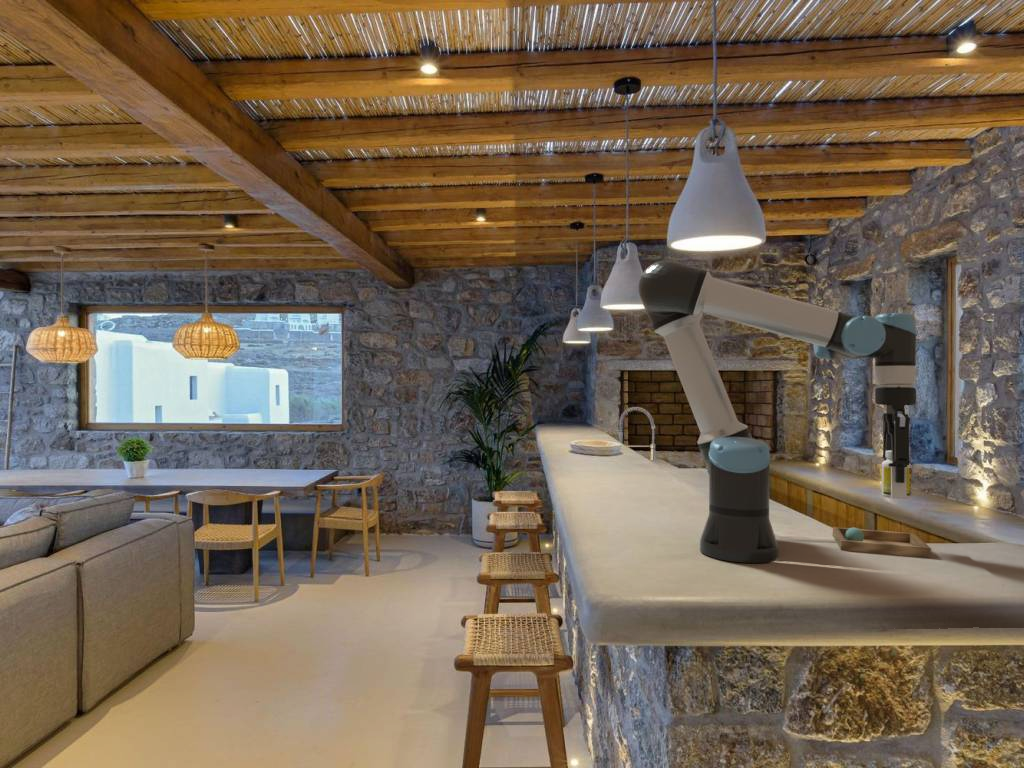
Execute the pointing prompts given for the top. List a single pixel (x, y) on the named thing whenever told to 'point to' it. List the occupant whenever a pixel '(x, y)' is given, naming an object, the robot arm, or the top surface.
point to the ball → (854, 534)
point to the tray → (883, 543)
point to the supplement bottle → (887, 477)
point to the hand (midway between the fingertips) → (895, 495)
